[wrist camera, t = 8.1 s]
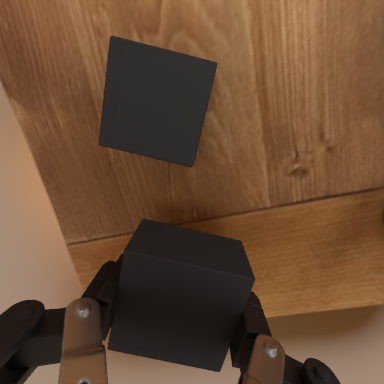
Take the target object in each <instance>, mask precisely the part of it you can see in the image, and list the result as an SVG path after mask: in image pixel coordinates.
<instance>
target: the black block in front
mask: <svg viewBox="0 0 384 384" xmlns="http://www.w3.org/2000/svg"><path fill="white" fill-rule="evenodd" d="M254 282H255V277H254V275H253V272H252V269H251V266H250V264H249V261H248V258H247V256H246V253H245V250H244V247H243V245H242V242H241V241H239V240H235V239H230V238H226V237H221V236H217V235H213V234H208V233H204V232H200V231H195V230H191V229H187V228H182V227H178V226H173V225H169V224H165V223H160V222H156V221H152V220H147V219H142V221H141V223H140V224H139V226H138V228H137V229H136V231H135V233H134V235H133V236H132V238H131V240H130V241H129V243H128V245H127V246H126V248H125V250H124V254H123V259H122V265H121V271H120V277H119V283H118V285H119V289H118V295H117V301H116V307H115V313H114V318H113V323H112V325H111V331H110V337H109V342H108V350H112V351H117V352H122V353H127V354H132V355H137V356H142V357H147V358H152V359H157V360H162V361H167V362H172V363H177V364H182V365H186V366H191V367H196V368H202V369H207V370H212V371H216V372H220V370H221V368H222V365H223V362H224V360H225V357H226V355H227V352H228V349H229V347H230V343H231V341H232V338H233V335H234V333H235V330H236V328H237V325H238V322H239V320H240V317H241V314H242V312H243V310H244V308H245V305H246V302H247V300H248V297H249V295H250V292H251V289H252V287H253V284H254Z"/></svg>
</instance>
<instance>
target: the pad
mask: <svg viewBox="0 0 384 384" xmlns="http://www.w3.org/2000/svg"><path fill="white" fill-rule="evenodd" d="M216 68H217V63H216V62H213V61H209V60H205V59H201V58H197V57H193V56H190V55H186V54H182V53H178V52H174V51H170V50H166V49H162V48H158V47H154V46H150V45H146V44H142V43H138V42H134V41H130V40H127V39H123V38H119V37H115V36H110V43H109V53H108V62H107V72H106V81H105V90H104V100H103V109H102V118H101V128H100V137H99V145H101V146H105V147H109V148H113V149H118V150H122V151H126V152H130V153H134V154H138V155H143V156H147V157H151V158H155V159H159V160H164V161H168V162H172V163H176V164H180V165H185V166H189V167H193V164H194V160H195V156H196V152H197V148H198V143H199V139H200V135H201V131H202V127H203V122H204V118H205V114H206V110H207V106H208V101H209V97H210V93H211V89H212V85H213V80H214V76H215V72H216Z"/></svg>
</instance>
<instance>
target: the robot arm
mask: <svg viewBox="0 0 384 384" xmlns="http://www.w3.org/2000/svg"><path fill="white" fill-rule="evenodd" d="M122 259H123V254H121V255H120V257H119V259H118V260H117V262H114V261H108V262H107V263H105V264H104V265H102V267H101V268H100V270H99V271H98V273H97V274H96V276H95V278H94V279H93V280H92V282H91V283H90V285H89V286H88V288H87V289H86V291H85V292H84V294H83V295H82V297H81V298H79V299H77V300H74V301H73V302H71V303H70V304H69V305H68V306H67V307H66V308H61V309H48V310H45V308H44V305H43V304H42V303H41V302H40V301H37V300H25V301H21V302H19V303H16V304H14V305H13V306H11V307H10V308H9V309H8V310H6V311H5V312H3V313H2V314H1V315H0V384H23V383H24V382H25V381H26V380H27V379H28V377H29V376H30V375H31V374H32V373H33V371H34V370H35V369H36V368H37V366H43V365H49V364H56V363H60V371H59V381H58V384H108V378H107V365H106V352H105V346H104V345H102V340H104V341H105V339H106V337H107V335H108V332H109V330H110V328H111V325H112V323H113V318H114V313H115V307H116V301H117V295H118V289H119V285H118V283H119V277H120V271H121V265H122ZM230 353H231V360H232V367H236V368H240V372H241V375H240V378H239V380H238V383H237V384H340V382H339V381H338V379H337V378H336V376H335V374H334V373H333V372H332V371H331V369H330V368H329V367H327V366H326V365H325V364H324V363H323V362H321V361H319V360H317V359H314V358H308V359H307V360H306V361H305V362H304V364H303V363H301V362H299V361H297V360H295V359H293V358H291V357H289V356H288V355H286V354H285V351H284V349H283V347H282V346H281V345H280V343H279V342H278V341H277V340H275V339H274V338H272V335H271V332H270V329H269V326H268V324H267V321H266V318H265V315H264V312H263V309H262V306H261V303H260V301H259V299H258V297H257V296H256V295H255V293H254V292H250V295H249V297H248V300H247V302H246V305H245V308H244V310H243V312H242V314H241V317H240V320H239V322H238V325H237V328H236V330H235V333H234V335H233V338H232V341H231V343H230Z"/></svg>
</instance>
